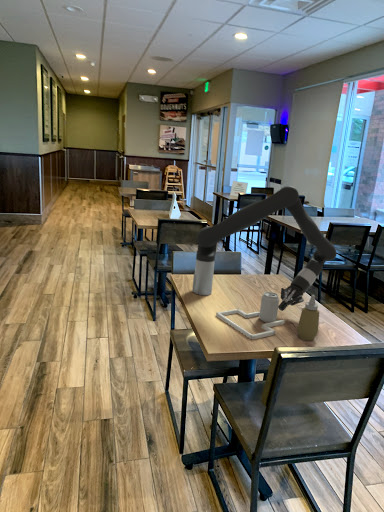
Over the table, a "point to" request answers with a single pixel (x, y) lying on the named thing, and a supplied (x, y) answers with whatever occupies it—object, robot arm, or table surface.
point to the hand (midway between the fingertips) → (280, 309)
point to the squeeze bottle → (309, 321)
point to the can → (269, 307)
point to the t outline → (264, 326)
